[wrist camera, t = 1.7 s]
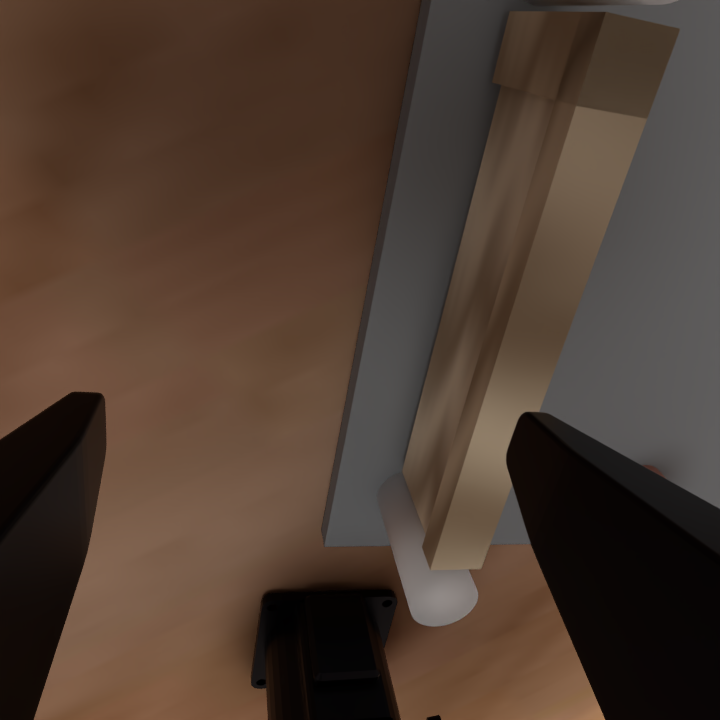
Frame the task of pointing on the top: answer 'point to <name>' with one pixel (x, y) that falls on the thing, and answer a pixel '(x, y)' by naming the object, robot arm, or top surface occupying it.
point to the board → (595, 310)
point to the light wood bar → (526, 256)
